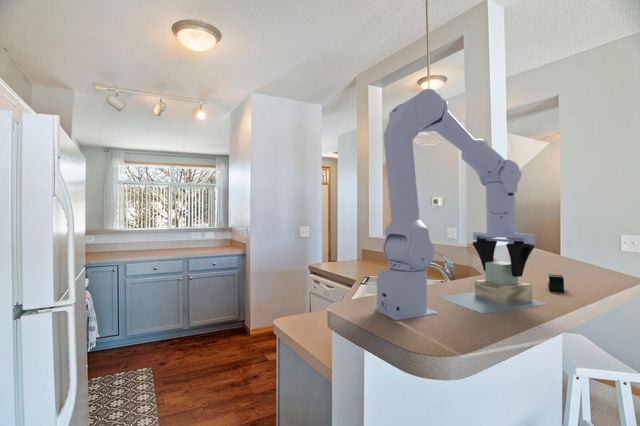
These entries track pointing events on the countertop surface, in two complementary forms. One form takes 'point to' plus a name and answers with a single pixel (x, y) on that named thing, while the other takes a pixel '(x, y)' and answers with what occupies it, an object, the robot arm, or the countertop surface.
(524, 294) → the base brick
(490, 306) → the mat
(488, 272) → the green brick
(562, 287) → the black box
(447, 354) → the countertop surface
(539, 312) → the countertop surface
